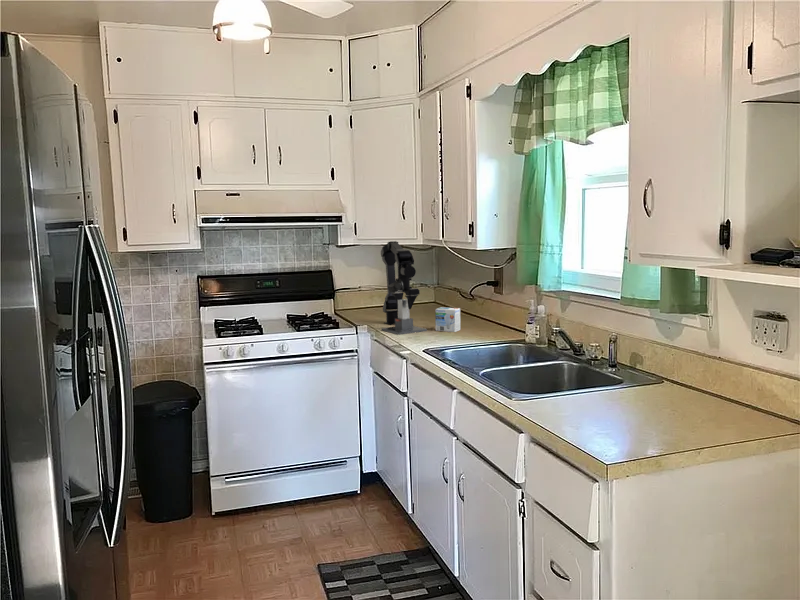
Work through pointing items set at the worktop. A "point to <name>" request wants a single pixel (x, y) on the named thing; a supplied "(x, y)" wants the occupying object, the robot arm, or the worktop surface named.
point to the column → (403, 309)
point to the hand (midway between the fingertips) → (404, 308)
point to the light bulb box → (447, 319)
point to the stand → (403, 327)
